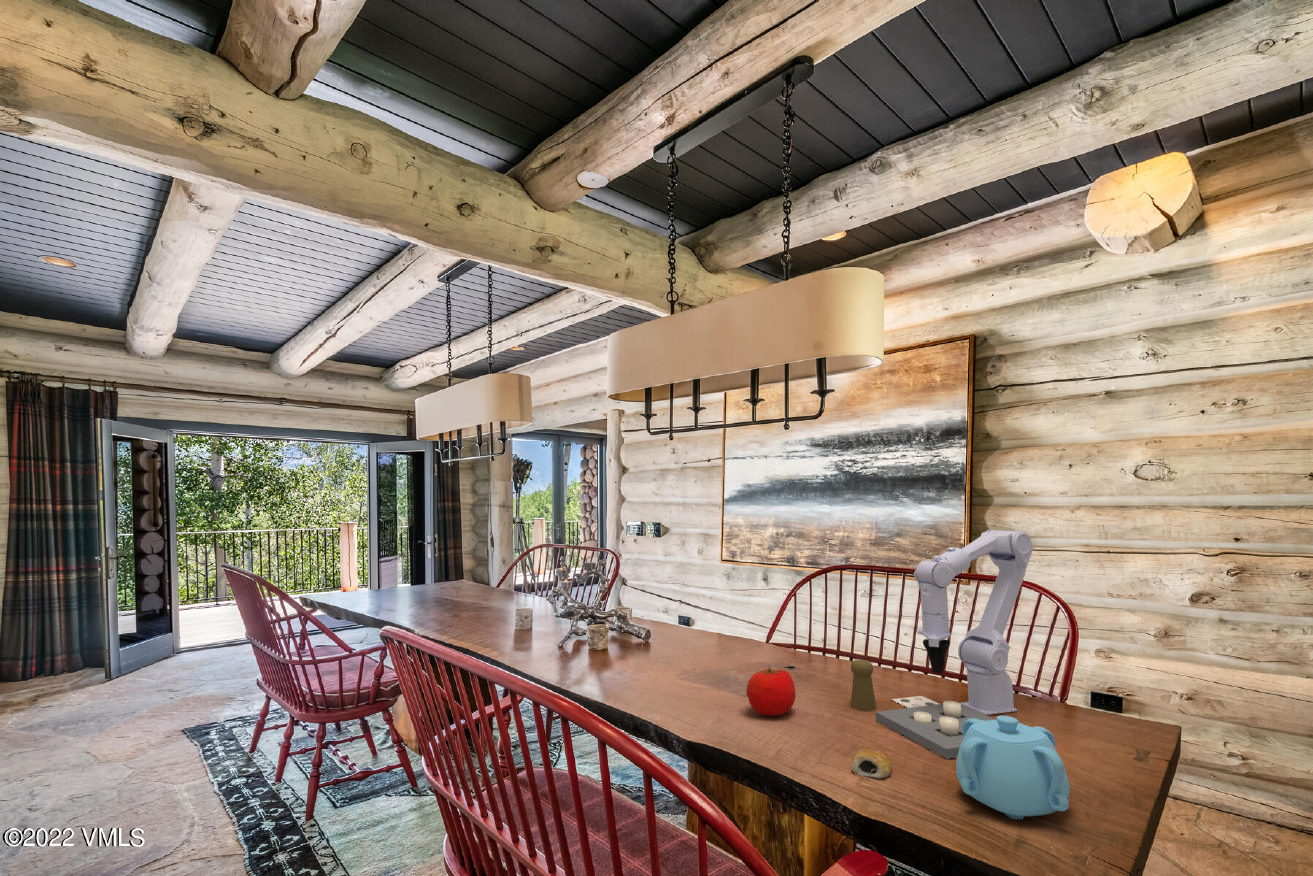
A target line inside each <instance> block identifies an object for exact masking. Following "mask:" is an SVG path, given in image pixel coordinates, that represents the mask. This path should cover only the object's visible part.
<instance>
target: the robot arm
mask: <svg viewBox="0 0 1313 876" xmlns="http://www.w3.org/2000/svg"><path fill="white" fill-rule="evenodd" d="M1033 551H1034V545H1033V543H1032V540H1031V537H1030V536H1029V534H1028V533H1027V532H1026V531H1024V530H997V529H993V528H991V529H987V530H986V531H984V532H982V533H981V534H980V536H979V537H978V538H976V539H974V540H973V541H972V542H970V543H968V544H966V545H965V546H964V547H962V548H960V547H955V546H953V547H952V546H950V547H948V548H946V551H945V552H943V553H942V554H939V555H934V556H932V557H933V558H932V559H931V560H922V561H920V562H919V563H918V564H917V565H916V567H915V571H914V572H913V576H914V579H915V581H916V582H917V584H918V590H919V591H920V599H921V601H920V602H921V603H920V604H921V621H922V629H917V631H916V632H917V635H922V636H923V637H924V639H923V640H922V644H923V647H924V648H925V650H926V651H925V652H926V653H927V655H928V659H929V662H930V663H929V664H930V667H931V671H932V673H934V674H943V673H944V670H945V662H946V655H947V651H948V649H949V647H950V646H951V644H950V643H951V640H949V638H951V632H950V621H949V618H950V617H949V602H948V601H949V600H948V599H949V598H948V587H949V586H950V584H951V583H952V581H953V578H955V577H956V576H958V575H960V574H962V573H963V572H965V571H966V570H968V569H970V567H971V563H972V561H975V560H976V559H979V558H981V557H984V556H986V555H987V556H988V557H989V558H990V560H991V562H993V564H994V565H995V567H997V568H998V570H999V571H998V574H997V576H996V579H995V581H994V584H993V587H992V589H991V592H990V595H989V597H988V599H987V600H988V601H987V603H986V605H985V608H984V611H983V613H982V616H981V617H980V622H979V624H978V626H976V627H975V628H972V629H970V630H968V631H967V632H966V635H965V637H964V638H963V639H962V640H961V641H960V642H959V644H958V649H957V654H958V658H959V660H960V661H961V663H963V667H964V668H966V677H967V678H966V679H967V694H968V697H967V698H968V701H964V702H963V701H962V702H959V703H960V704H961V705H963V706H965V707H968V708H970V709H972V710H975V711H977V712H980V713H982V714H984V715H987V716H990V715H996V714H1003V713H1004V714H1006V713H1010V712H1011V713H1012V712H1017V711H1018V709H1017V708H1015V706H1014V705H1015V704H1014V703H1015V701H1014V691H1013V690H1014V689H1013V687H1014V686H1013V681H1012V678H1011V677H1010V675H1009V673H1008V672H1007V671H1006V668H1007V667H1008V664H1009V663H1008V662H1009V653H1010V652H1009V650H1010V649H1011V646H1010V645H1009V643H1008V641H1006V639H1005V638H1004V634H1005V630H1006V629H1007V628H1006V627H1007V624H1008V622H1009V619H1010V617H1011V614H1012V611H1013V608H1014V605H1015V602H1016V600H1017V597H1018V595H1019V593H1020V589H1021V587H1022V584H1023V581H1024V578H1025V576H1026V572H1027V567H1028V565H1029V562H1030V558H1031V557H1032V553H1033Z"/></svg>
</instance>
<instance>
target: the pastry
mask: <svg viewBox="0 0 1313 876" xmlns="http://www.w3.org/2000/svg"><path fill="white" fill-rule="evenodd" d="M890 758H891V757H890V756H889V755H888V753H887V752H886V751H883V750H881V749H878V748H877V747H869V748H867V747H866V748H863V749H858V751H857V752H856V753H854V754H853V755H852V762H851V764H850V769H851V771H852V772H853V774H854V775H858V776H860V777H866V778H867V777H868V778H873V779H886V778H888V777H889V776H890V775H891V772H892V771H891V770H892V760H891V759H890Z"/></svg>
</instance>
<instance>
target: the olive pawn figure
mask: <svg viewBox="0 0 1313 876" xmlns="http://www.w3.org/2000/svg"><path fill="white" fill-rule="evenodd" d="M850 671H851V672H852V675H853V676H852V687H851V688H852V689H851V698H850V707H852V708H851V709H853V708H855V709H857V710H856V711H859V710H860V712H873V711H872V710H874V711H876V710H877V709H876V708H877V704H876V697H875V691H874V686H873V680H872V675H873V672H874V666H873V663H871V661H869V660H866V659H854V660H853V661H852V662H851V664H850ZM855 709H854V710H855ZM875 709H876V710H875Z"/></svg>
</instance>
